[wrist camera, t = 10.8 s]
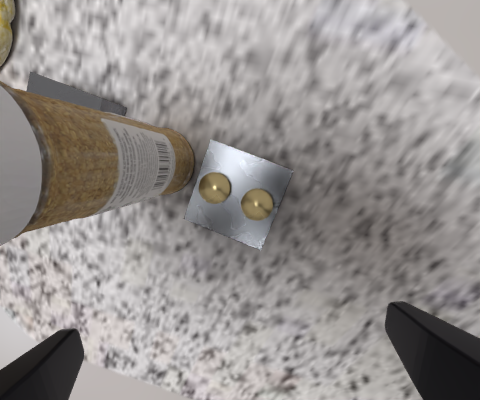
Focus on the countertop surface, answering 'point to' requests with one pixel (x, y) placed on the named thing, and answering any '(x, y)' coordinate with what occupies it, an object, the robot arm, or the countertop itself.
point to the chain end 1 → (70, 94)
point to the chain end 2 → (237, 194)
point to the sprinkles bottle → (79, 161)
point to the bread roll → (6, 28)
